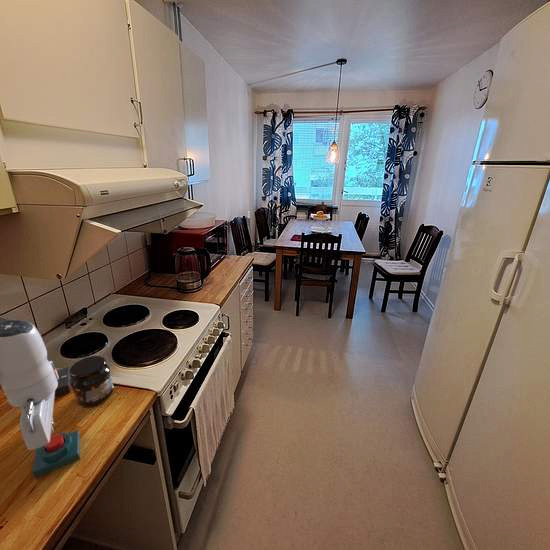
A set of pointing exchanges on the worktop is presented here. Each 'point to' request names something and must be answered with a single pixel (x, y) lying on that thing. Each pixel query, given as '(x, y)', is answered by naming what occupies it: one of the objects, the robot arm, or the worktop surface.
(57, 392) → the stove panel
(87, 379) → the supplement container
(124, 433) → the worktop surface
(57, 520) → the worktop surface
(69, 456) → the teal square base
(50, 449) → the timer button
